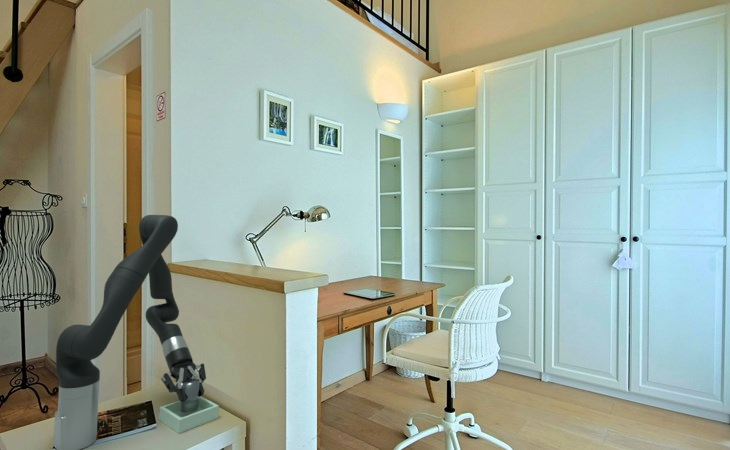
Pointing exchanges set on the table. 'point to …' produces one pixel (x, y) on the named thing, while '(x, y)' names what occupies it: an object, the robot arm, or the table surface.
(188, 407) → the metal tin
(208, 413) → the tray
